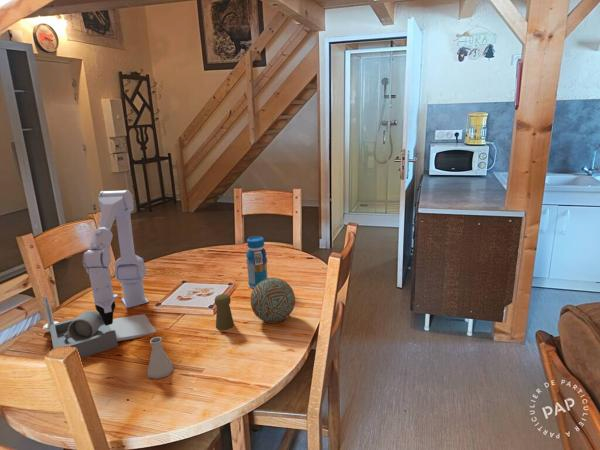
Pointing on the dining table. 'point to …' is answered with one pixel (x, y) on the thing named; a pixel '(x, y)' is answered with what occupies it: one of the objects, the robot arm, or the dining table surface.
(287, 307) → the decorative sphere
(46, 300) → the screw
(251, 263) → the beverage bottle
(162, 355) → the flask
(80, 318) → the ceramic mug
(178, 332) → the dining table surface
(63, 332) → the dock
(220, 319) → the olive pawn
